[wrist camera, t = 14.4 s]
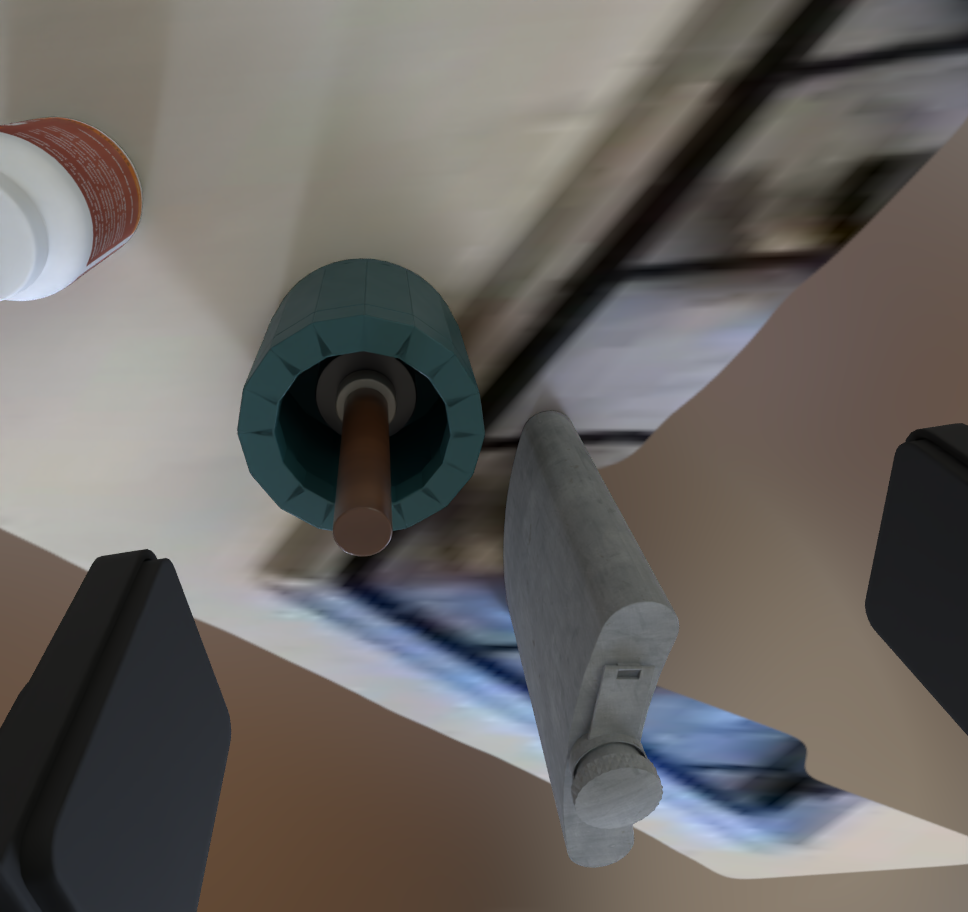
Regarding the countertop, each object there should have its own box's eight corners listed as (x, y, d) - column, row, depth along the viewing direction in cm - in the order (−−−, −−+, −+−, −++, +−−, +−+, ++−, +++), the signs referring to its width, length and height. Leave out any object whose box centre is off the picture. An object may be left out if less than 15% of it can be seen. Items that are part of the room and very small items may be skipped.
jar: (246, 274, 37) (207, 338, 29) (445, 244, 38) (466, 298, 29) (295, 451, 42) (274, 552, 34) (471, 421, 43) (495, 513, 34)
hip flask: (553, 622, 51) (646, 917, 33) (494, 625, 50) (557, 926, 33) (576, 410, 43) (712, 644, 26) (508, 411, 43) (599, 651, 25)
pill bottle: (47, 83, 33) (-93, 91, 23) (172, 182, 35) (94, 228, 25) (-23, 193, 34) (-182, 244, 24) (101, 281, 37) (2, 359, 27)
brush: (312, 324, 38) (273, 483, 24) (404, 309, 38) (421, 459, 24) (332, 407, 40) (308, 600, 26) (419, 393, 41) (443, 576, 26)
